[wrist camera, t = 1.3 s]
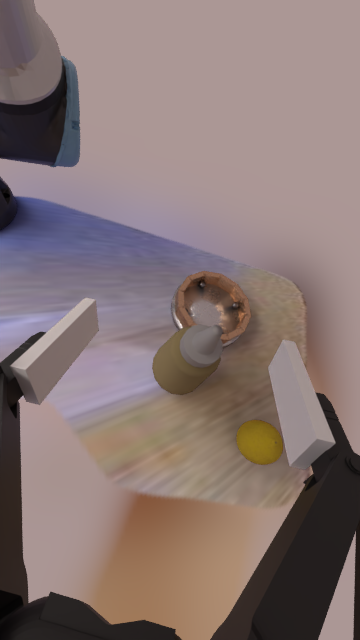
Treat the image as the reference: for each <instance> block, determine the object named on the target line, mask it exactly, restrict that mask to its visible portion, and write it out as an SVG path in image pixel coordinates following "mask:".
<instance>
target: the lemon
mask: <svg viewBox="0 0 360 640" xmlns="http://www.w3.org/2000/svg"><path fill="white" fill-rule="evenodd" d="M237 445H238V448H239V450H240V452H241V453H242V455H243V456H244V457H245V458H246V459H248V460H249V461H251V462H253V463H256V464H260V465H265V464H271V463H273V462H275V461H277V460H278V459H279V457H280V456H281V454H282V451H283V442H282V438H281V436H280V434H279V432H278V431H277V430H276V428H275V427H273V426H272V425H271V424H269V423H267V422H264V421H261V420H251V421H247V422H246V423H244V424H243V425H242V426H241V427H240V428H239V430H238V432H237Z"/></svg>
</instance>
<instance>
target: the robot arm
mask: <svg viewBox="0 0 360 640" xmlns="http://www.w3.org/2000/svg"><path fill="white" fill-rule="evenodd" d="M79 116H80V111H79V91H78V79H77V71H76V67H75V66H74V64H73V63H72V62H71V61H69V60H67V59H66V58H65V57H64V56H61V54H60V51H59V47H58V44H57V41H56V39H55V37H54V35H53V33H52V31H51V30H50V28H49V27H48V25H47V24H46V23H45V21H44V20H43V19H42V17H41V16H40V15H39V14H38V13H37V12H36V9H35V4H34V0H0V158H1V159H8V160H15V161H22V162H28V163H35V164H42V165H48V166H51V167H56V166H64V167H73V166H75V165H76V164H77V163H78V161H79V157H80V127H79V124H80V120H79ZM16 212H17V203H16V201H15V198H14V196H13V194H12V192H11V190H10V188H9V187H8V185H7V184H6V183H5V182H4V181H3V179H2V178H1V177H0V230H1V229H2V228H4V227H5V226H7V225H8V224H9V223H10V222H11V221H12V220H13V219H14V217H15V215H16ZM98 331H99V328H98V319H97V309H96V300H94V299H89V298H84V299H83V300H82V301H81V302H80V303H79V304H78V305H77V306H76V307H74V308H73V309H72V310H71V311H70V312H69V313H68V314H67V315H66V316H65V317H63V318H62V319H61V320H60V321H59V322H58V323H57V324H56V325H55V326H53V327H52V328H51V329H50V330H49V331H48V332H47V333H45V332H39V333H37V334H35V335H33V336H31V337H30V338H29V339H28V340H27V341H25V343H23V344H22V345H21V346H20V347H19V348H17V349H16V350H15V351H14V352H13V353H11V354H10V355H9V356H8V357H7V358H6V359H4V360H3V361H2V362H1V363H0V640H181V638H180V637H179V636H177V635H176V634H175V629H172V628H169V627H166V626H162V625H159V624H156V623H152V622H149V621H146V620H141V621H134V622H127V623H120V624H114V625H112V624H110V623H109V622H108V621H106V620H105V619H104V618H103V617H102V616H101V615H100V614H98V613H97V612H96V611H95V610H94V609H93V608H92V607H91V606H90V605H88V604H86V603H84V602H82V601H79V600H76V599H73V598H69V597H66V596H63V595H59V594H56V593H53V592H50V594H49V596H47V597H43V598H40V599H37V600H35V601H32V602H31V603H28V581H27V573H26V568H25V565H24V561H23V542H22V497H21V455H20V454H21V453H20V406H19V402H18V400H19V399H20V398H21V397H22V396H24V398H25V400H26V402H30V403H35V404H39V405H40V404H41V403H42V401H43V400H44V399H45V398H46V396H47V395H48V394H49V392H50V391H51V390H52V389H53V387H54V386H55V385H56V384H57V382H58V381H59V380H60V379H61V377H62V376H63V375H64V374H65V372H66V371H67V370H68V369H69V367H70V366H71V365H72V363H73V362H74V361H75V360H76V358H77V357H78V356H79V355H80V353H81V352H82V351H83V350H84V348H85V347H86V346H87V345H88V343H89V342H90V341H91V339H92V338H93V337H94V336H95V334H96V333H97V332H98ZM268 369H269V374H270V379H271V383H272V388H273V393H274V397H275V402H276V406H277V411H278V416H279V420H280V425H281V430H282V434H283V439H284V444H285V448H286V453H287V458H288V462H289V466H290V467H294V468H298V469H302V470H306V469H307V468H308V467H309V466H310V465H311V466H312V470H313V473H314V474H313V475H311V476H310V477H309V478H308V479H306V480H305V481H304V482H303V483H304V484H306V485H305V487H304V488H303V490H302V492H301V493H300V495H299V497H298V498H297V500H296V502H295V504H294V505H293V507H292V509H291V510H290V512H289V514H288V515H287V517H286V519H285V521H284V522H283V524H282V526H281V527H280V529H279V531H278V533H277V534H276V536H275V538H274V539H273V541H272V543H271V544H270V546H269V548H268V550H267V551H266V553H265V554H264V556H263V558H262V560H261V561H260V563H259V565H258V567H257V568H256V570H255V571H254V573H253V575H252V577H251V578H250V580H249V582H248V583H247V585H246V587H245V589H244V590H243V592H242V594H241V595H240V597H239V599H238V600H237V602H236V604H235V606H234V607H233V609H232V611H231V612H230V614H229V615H228V617H227V618H226V620H225V621H224V622H223V623H222V625H221V626H220V627H219V628H218V629H217V631H216V632H215V633H214V635H213V636H212V638H211V639H210V640H318V637H319V635H320V632H321V629H322V626H323V623H324V621H325V618H326V615H327V612H328V609H329V606H330V603H331V600H332V598H333V595H334V592H335V589H336V586H337V583H338V580H339V577H340V575H341V572H342V569H343V566H344V563H345V560H346V557H347V554H348V552H349V548H350V546H351V543H352V540H353V537H354V534H355V531H356V554H355V556H356V557H355V597H354V638H353V640H360V456H359V455H357V454H356V453H354V452H353V450H352V448H351V446H350V444H349V441H348V439H347V437H346V435H345V433H344V430H343V428H342V426H341V424H340V422H339V421H338V420H339V419H338V417H337V415H336V414H335V410H334V408H333V406H332V404H331V402H330V401H329V400H328V399H327V398H326V396H325V395H324V394H320V393H316V392H315V391H314V388H313V386H312V383H311V381H310V378H309V376H308V373H307V371H306V368H305V366H304V363H303V361H302V358H301V356H300V353H299V351H298V348H297V346H296V343H295V342H293V341H288V340H284V339H283V341H282V343H281V345H280V346H279V348H278V350H277V352H276V354H275V356H274V358H273V359H272V361H271V363H270V365H269V367H268Z"/></svg>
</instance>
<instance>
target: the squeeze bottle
mask: <svg viewBox="0 0 360 640" xmlns="http://www.w3.org/2000/svg"><path fill="white" fill-rule="evenodd" d="M222 333H223V330H222V328H221V327H220V326H218V325H214V326H212V327H209V326H206V325H201V324H200V325H194V326H190V327H184V328H182V329H181V330H179V331H178V332H176V333H175V334H174V335H173V336H172V337H171V338H170V339H169V340H168V341H167V342H166V343H165V344H164V345H163V346H162V347H161V348H160V349H159V350H158V352H157V353H156V355H155V357H154V360H153V367H152V369H153V373H154V377H155V379H156V381H157V382H158V384H159V385H160V386H161V388H163V389H165V390H166V391H168V392H170V393H171V394H179V395H183V394H186V393H189V392H192V391H193V390H194V389H195V388H196V387H198V386H199V385H200V384H201V383H202V382H203V381H204V380H205V379H206V378H207V377H209V376H210V375H211V374H212V373H213V372H214V371H215V370H216V369H217V367H218V365H219V362H220V360H221V354H222V351H223V343H222V341H221V338H220V337H221V335H222Z"/></svg>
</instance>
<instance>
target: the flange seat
mask: <svg viewBox="0 0 360 640" xmlns="http://www.w3.org/2000/svg"><path fill="white" fill-rule="evenodd" d="M171 313H172V318H173V321H174V323H175V325H176V327H177V328H178V330H181V329H182V328H184V327H190V326H194V325H200V324H201V325H206V326H209V327H212V326H214V325H218V326H220V327H221V328H222V330H223V333H222V335H221V337H220V338H221V341H222V343H223V347H226V346H228V345H230V344H231V343H233V342H234V341H236V340H237V339H238V338H239V337H240V335H241V334H242V333H243V332H244V331H245V329H246V327H247V325H248V322H249V320H250V318H251V313H250V307H249V301H248V298H247V297H246V295H245V294H244V293H243V291H242V290H241V288H240V287H239V286H238V284H237V283H235V282H233V281H232V280H230V279H229V278H227V277H226V276H224V275H222V274H219V273H213V272H207V271H202V272H199V273H196V274H193V275H190V276H188V277H187V278H186V280H185V281H184V282H183V284H182V285H180V286H179V288H178V289H177V290H176V292H175V294H174V297H173V299H172V303H171Z"/></svg>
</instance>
